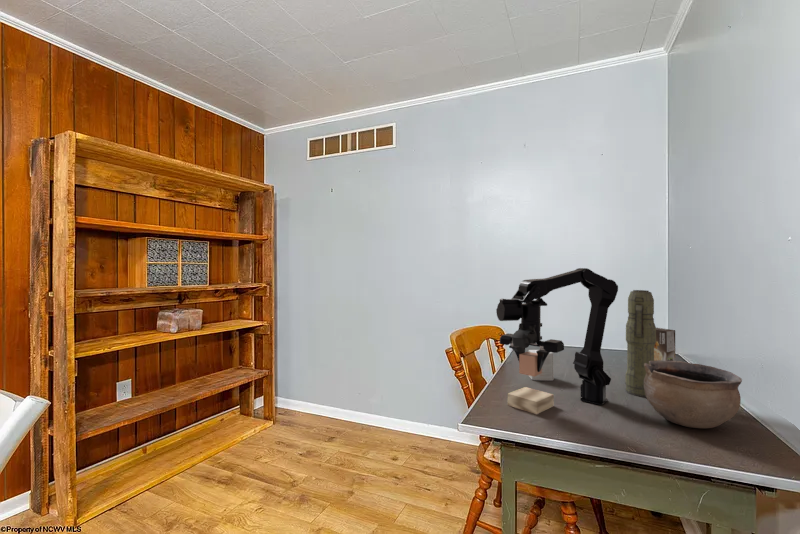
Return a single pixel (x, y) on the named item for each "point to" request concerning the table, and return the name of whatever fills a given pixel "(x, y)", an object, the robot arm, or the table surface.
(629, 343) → the thermos
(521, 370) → the terracotta block
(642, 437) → the table surface
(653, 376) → the ceramic bowl
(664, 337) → the coffee box
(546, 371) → the small box
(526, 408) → the birch base block
